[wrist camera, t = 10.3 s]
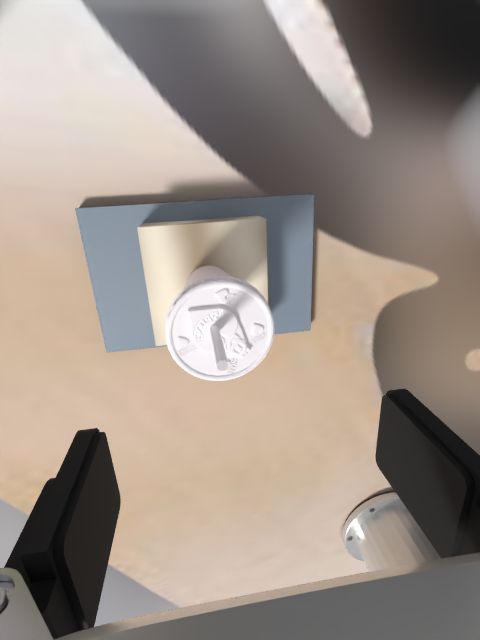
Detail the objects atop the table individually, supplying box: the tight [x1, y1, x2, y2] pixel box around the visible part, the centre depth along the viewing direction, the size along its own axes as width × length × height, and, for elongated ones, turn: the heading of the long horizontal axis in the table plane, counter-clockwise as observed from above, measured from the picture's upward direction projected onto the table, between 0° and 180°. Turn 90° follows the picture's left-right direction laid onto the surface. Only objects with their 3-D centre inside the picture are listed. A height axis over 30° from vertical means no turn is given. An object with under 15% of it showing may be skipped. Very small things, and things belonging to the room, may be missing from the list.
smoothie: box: [165, 265, 274, 381], centre depth 22 cm, size 6×6×14 cm
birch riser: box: [137, 216, 268, 346], centre depth 30 cm, size 10×10×3 cm
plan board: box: [75, 194, 314, 353], centre depth 32 cm, size 20×13×1 cm, turn 93°
